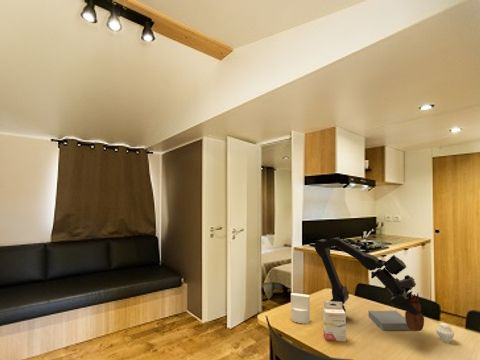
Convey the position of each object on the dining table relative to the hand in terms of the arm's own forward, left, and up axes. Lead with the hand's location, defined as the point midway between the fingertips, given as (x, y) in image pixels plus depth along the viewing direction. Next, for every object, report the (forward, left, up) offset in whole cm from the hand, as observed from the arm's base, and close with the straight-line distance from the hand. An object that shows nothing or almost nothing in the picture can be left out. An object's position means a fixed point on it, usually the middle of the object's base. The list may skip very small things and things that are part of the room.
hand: (418, 312), depth 118 cm
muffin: (+11, 0, -12) cm, 16 cm away
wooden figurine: (-1, 0, -7) cm, 8 cm away
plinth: (-4, +16, -11) cm, 20 cm away
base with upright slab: (-46, +20, -12) cm, 52 cm away
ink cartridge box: (-35, +2, -12) cm, 37 cm away
